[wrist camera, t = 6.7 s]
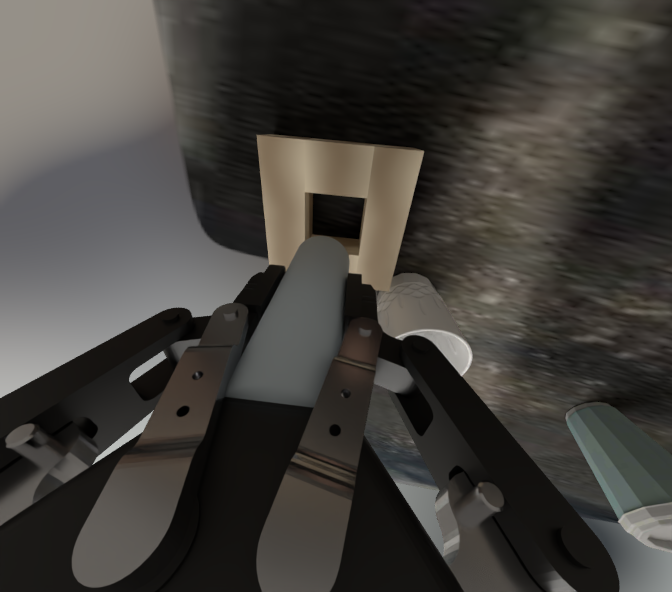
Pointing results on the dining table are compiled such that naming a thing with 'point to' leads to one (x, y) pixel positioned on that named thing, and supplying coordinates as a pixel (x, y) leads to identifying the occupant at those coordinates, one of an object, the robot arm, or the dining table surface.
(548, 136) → the dining table surface
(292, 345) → the long dowel
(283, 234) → the hole block
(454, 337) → the white cup
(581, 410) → the disposable coffee cup
